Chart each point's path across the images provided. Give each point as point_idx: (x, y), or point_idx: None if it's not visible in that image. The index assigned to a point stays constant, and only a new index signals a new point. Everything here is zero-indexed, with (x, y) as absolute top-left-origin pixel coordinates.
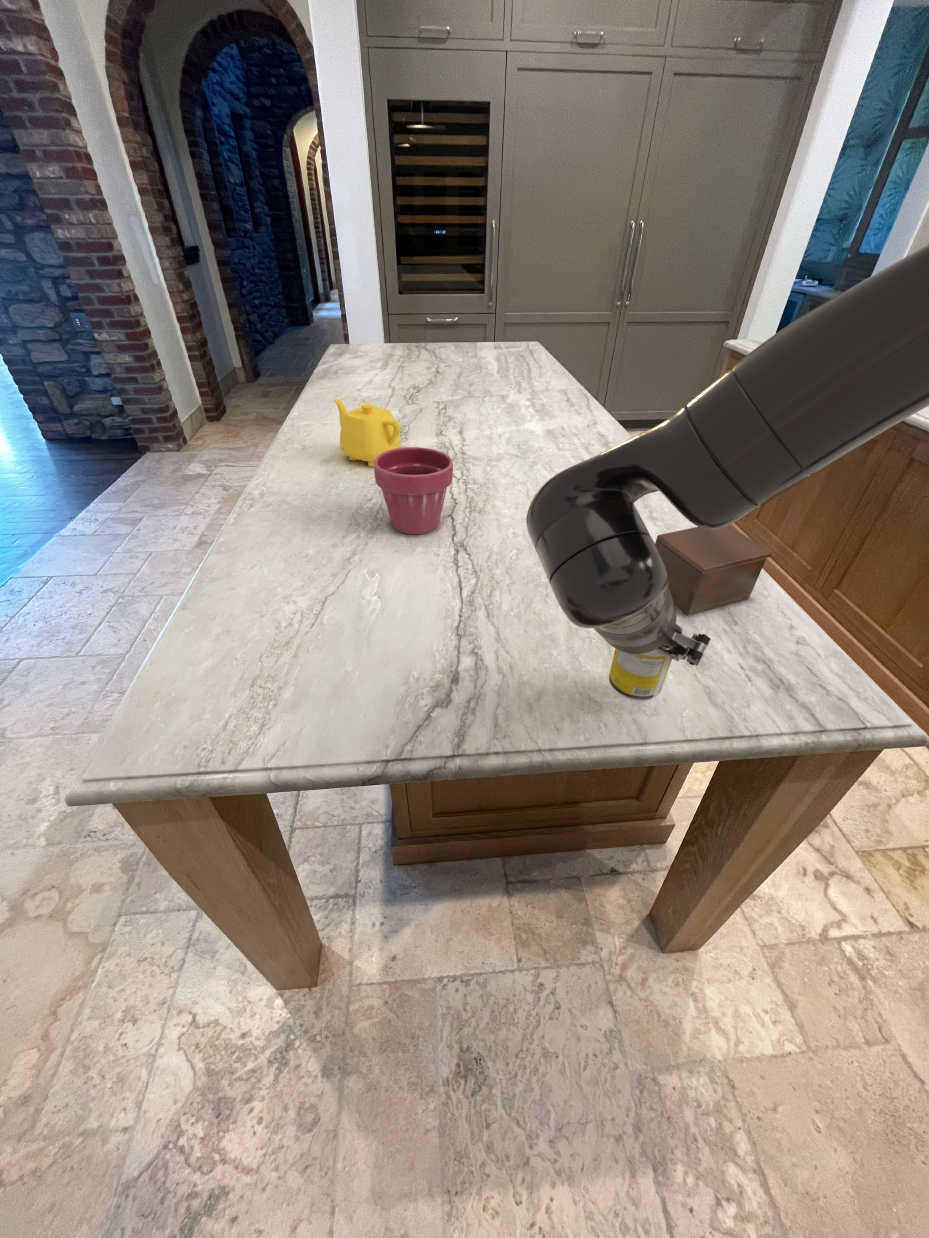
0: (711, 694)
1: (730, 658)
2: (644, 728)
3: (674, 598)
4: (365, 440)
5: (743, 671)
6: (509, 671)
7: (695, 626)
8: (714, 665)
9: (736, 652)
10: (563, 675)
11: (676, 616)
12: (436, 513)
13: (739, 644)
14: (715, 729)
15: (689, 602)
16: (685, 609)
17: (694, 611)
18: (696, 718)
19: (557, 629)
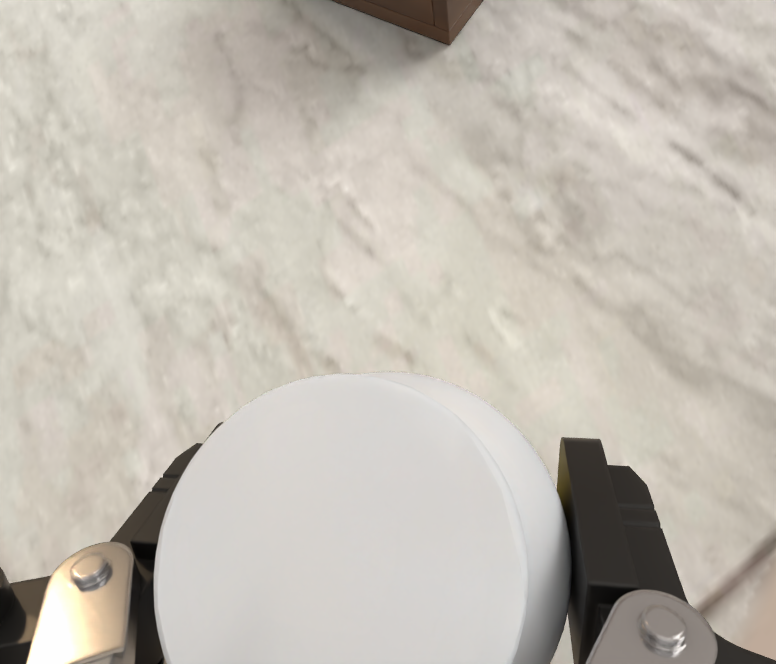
0: (662, 336)
1: (640, 138)
2: None
3: (388, 6)
4: None
5: (701, 168)
6: None
7: (489, 72)
8: (611, 199)
9: (644, 102)
10: None
11: (514, 507)
12: None
13: (637, 63)
14: (750, 498)
15: (438, 1)
16: (435, 28)
17: (462, 18)
18: (670, 484)
19: (115, 352)
